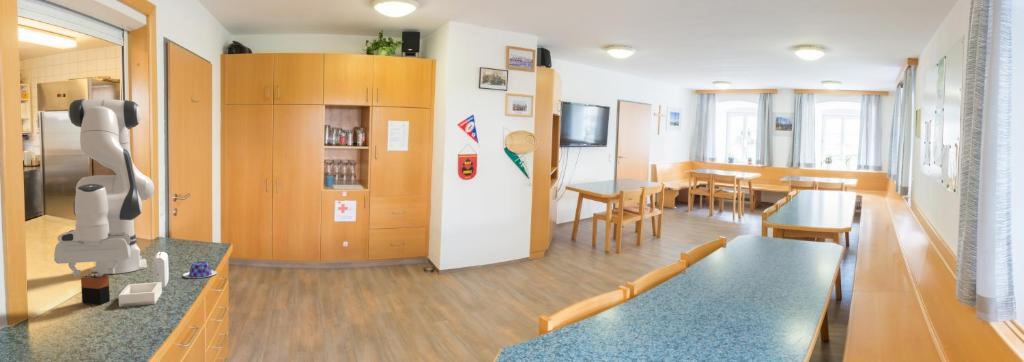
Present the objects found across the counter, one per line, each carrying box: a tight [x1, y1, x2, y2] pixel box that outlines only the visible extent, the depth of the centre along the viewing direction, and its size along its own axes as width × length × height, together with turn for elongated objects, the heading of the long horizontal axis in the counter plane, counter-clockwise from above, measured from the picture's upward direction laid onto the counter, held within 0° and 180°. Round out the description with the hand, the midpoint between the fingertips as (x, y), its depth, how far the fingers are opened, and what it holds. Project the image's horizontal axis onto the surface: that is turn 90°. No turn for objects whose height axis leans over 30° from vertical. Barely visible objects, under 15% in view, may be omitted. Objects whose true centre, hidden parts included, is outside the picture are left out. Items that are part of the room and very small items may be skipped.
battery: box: [80, 272, 111, 306], centre depth 183 cm, size 4×7×10 cm, turn 81°
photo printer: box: [152, 251, 170, 289], centre depth 205 cm, size 10×4×12 cm, turn 25°
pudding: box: [182, 260, 218, 279], centre depth 219 cm, size 12×12×5 cm
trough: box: [118, 282, 163, 308], centre depth 187 cm, size 13×10×4 cm
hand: (94, 274), depth 182 cm, fingers open, 8 cm apart
